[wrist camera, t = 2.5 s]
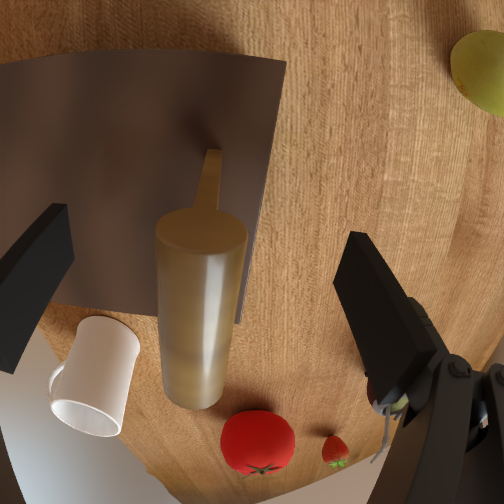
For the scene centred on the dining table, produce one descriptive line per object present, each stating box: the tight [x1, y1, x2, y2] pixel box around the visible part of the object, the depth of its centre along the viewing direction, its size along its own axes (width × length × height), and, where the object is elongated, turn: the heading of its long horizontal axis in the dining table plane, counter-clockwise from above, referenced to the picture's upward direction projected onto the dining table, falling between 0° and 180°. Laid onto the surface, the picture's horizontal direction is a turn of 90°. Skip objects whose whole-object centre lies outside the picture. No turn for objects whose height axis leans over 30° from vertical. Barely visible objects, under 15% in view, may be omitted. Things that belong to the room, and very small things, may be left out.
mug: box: [46, 316, 140, 437], centre depth 32 cm, size 12×8×12 cm
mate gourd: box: [365, 372, 408, 463], centre depth 37 cm, size 8×8×15 cm
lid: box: [0, 49, 287, 410], centre depth 11 cm, size 19×15×10 cm
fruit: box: [322, 435, 349, 469], centre depth 53 cm, size 5×5×8 cm
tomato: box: [220, 410, 295, 479], centre depth 44 cm, size 12×12×11 cm
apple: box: [450, 30, 504, 117], centre depth 18 cm, size 8×8×10 cm
